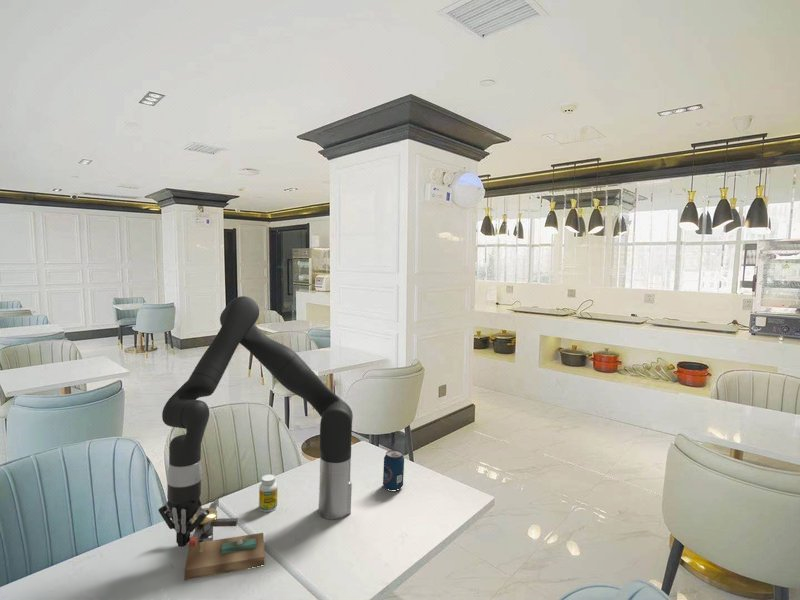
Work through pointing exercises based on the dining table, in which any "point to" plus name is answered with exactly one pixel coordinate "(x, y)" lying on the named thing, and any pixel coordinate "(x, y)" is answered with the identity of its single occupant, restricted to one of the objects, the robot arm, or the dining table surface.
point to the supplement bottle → (268, 494)
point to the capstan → (209, 526)
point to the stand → (224, 556)
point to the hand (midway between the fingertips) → (183, 544)
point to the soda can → (393, 470)
